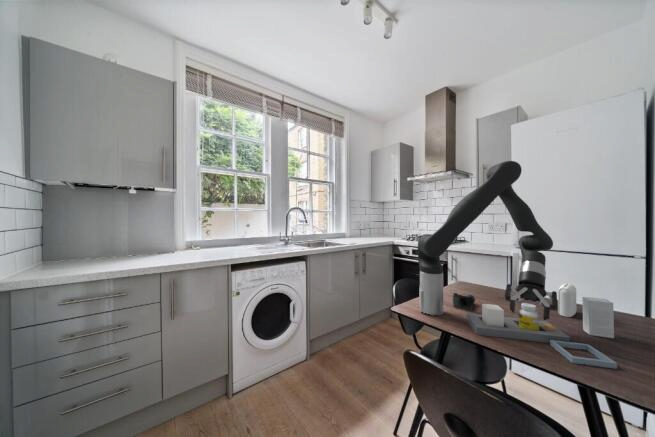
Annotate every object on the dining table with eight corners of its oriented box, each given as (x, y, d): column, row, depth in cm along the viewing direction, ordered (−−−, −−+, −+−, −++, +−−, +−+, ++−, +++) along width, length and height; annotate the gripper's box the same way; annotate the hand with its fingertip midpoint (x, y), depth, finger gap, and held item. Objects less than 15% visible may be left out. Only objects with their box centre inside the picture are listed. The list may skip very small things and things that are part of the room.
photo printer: (563, 309, 101) (563, 281, 101) (577, 312, 98) (577, 283, 98) (556, 314, 96) (556, 285, 96) (571, 318, 92) (571, 287, 92)
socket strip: (476, 334, 81) (476, 311, 81) (466, 319, 92) (466, 299, 92) (569, 345, 73) (569, 320, 73) (546, 327, 85) (546, 305, 85)
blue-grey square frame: (572, 362, 65) (572, 357, 65) (549, 344, 74) (549, 339, 74) (617, 368, 62) (617, 363, 62) (588, 349, 71) (588, 344, 71)
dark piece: (471, 315, 100) (477, 308, 108) (475, 298, 99) (481, 293, 107) (448, 305, 106) (456, 300, 114) (452, 289, 105) (459, 285, 114)
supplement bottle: (514, 329, 84) (514, 302, 84) (528, 328, 85) (528, 301, 84) (529, 336, 79) (528, 308, 79) (543, 336, 79) (543, 307, 79)
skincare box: (605, 333, 81) (605, 298, 81) (614, 338, 77) (614, 302, 77) (581, 329, 83) (581, 296, 83) (589, 335, 79) (589, 300, 79)
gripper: (507, 267, 92) (501, 304, 84) (558, 273, 81) (557, 316, 73) (509, 278, 95) (504, 314, 87) (558, 285, 85) (557, 327, 77)
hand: (528, 315), depth 80 cm, fingers open, 8 cm apart
